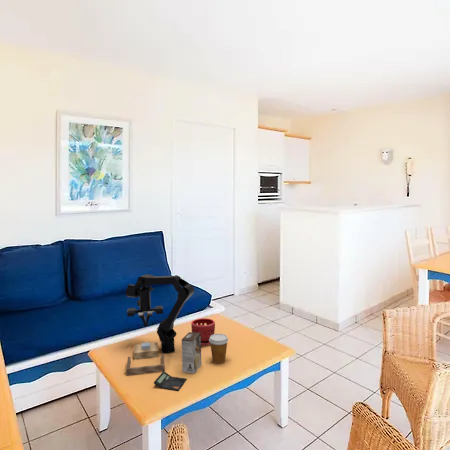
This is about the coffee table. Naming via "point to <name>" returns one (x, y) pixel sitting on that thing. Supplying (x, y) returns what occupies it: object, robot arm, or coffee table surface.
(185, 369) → the coffee box
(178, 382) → the calculator
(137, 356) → the beige rectangular block
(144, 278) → the robot arm
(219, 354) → the disposable coffee cup
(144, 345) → the light blue square block
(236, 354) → the coffee table surface
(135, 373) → the dock bay
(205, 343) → the plant pot
